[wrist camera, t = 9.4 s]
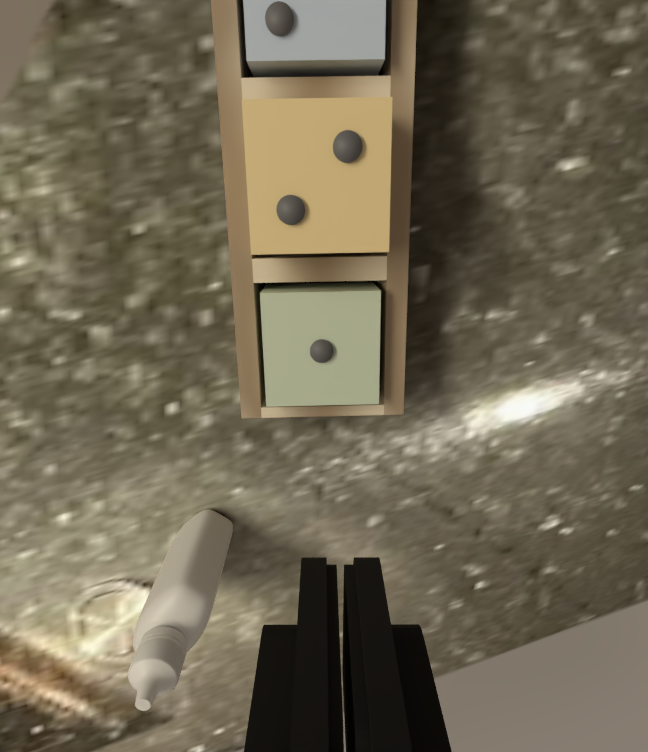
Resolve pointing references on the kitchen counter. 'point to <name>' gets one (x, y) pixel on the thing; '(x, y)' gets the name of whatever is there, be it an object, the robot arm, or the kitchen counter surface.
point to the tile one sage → (321, 343)
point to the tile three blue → (314, 37)
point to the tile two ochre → (318, 174)
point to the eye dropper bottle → (178, 605)
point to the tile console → (317, 266)
